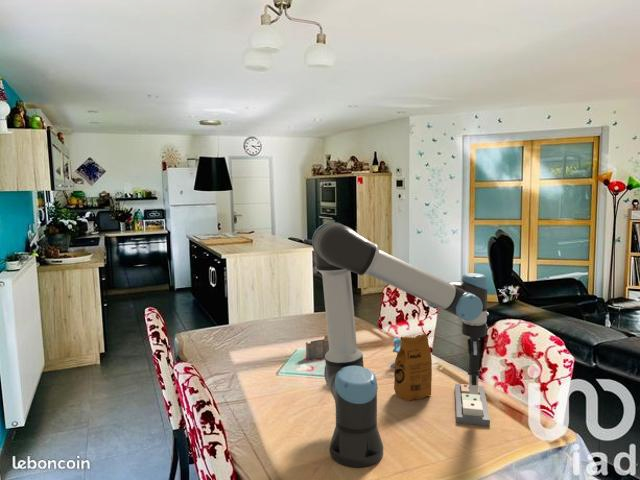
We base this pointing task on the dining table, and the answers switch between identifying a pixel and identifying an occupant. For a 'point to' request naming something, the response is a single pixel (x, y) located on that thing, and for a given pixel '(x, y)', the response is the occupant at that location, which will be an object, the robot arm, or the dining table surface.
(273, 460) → the dining table surface
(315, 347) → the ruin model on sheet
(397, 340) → the chair
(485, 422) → the tile tray
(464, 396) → the tile two
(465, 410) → the tile one
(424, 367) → the coffee package
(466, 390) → the tile three
